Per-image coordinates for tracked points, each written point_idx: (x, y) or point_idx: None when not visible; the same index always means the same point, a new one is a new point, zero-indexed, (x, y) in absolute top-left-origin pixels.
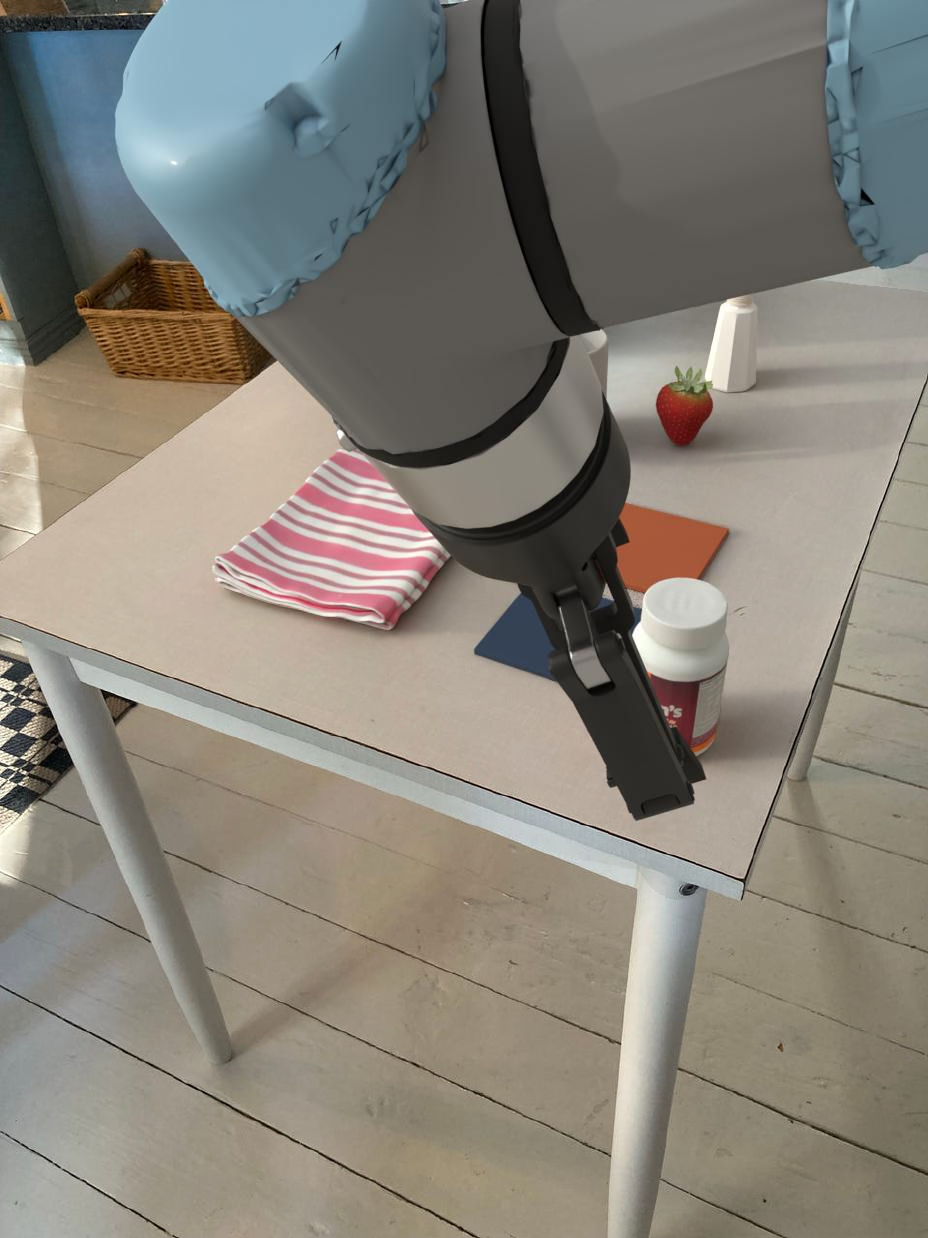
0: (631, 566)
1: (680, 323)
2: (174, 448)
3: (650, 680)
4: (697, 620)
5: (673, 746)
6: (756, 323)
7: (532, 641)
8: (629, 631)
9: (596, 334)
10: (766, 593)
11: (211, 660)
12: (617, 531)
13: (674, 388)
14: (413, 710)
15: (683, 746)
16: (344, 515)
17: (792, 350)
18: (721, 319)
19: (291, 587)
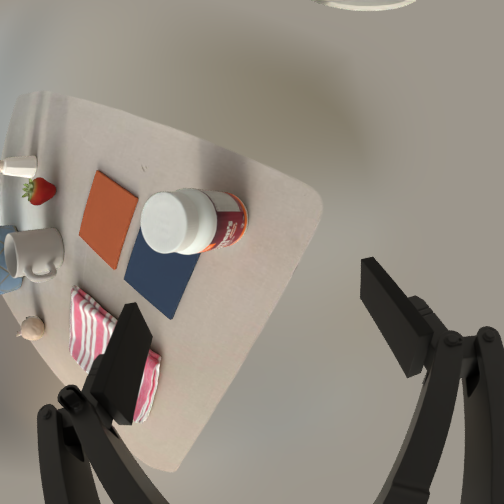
0: (115, 224)
1: (12, 187)
2: None
3: (424, 405)
4: (179, 216)
5: (462, 356)
6: (11, 157)
7: (164, 288)
8: (407, 473)
9: (8, 237)
10: (134, 153)
11: (186, 426)
12: (131, 323)
13: (30, 197)
14: (210, 355)
15: (426, 322)
16: None
17: (25, 140)
18: (8, 173)
19: (144, 396)
